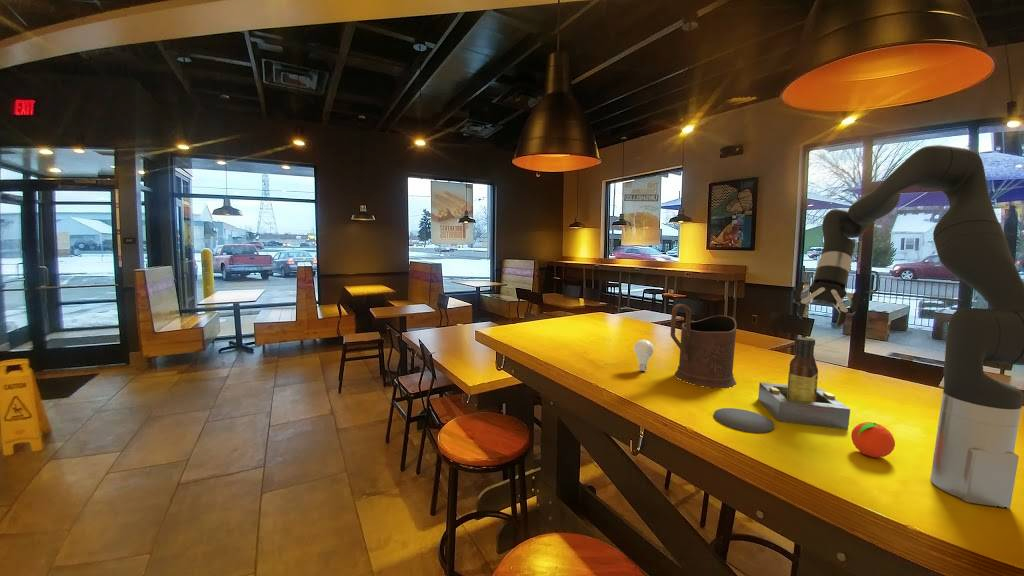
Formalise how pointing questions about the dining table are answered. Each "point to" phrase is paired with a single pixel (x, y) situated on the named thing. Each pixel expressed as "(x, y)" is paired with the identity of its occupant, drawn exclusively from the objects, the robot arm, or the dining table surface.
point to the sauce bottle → (803, 372)
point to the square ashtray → (804, 407)
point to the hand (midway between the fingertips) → (819, 321)
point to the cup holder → (706, 350)
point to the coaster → (744, 420)
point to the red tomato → (873, 439)
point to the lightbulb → (643, 353)
